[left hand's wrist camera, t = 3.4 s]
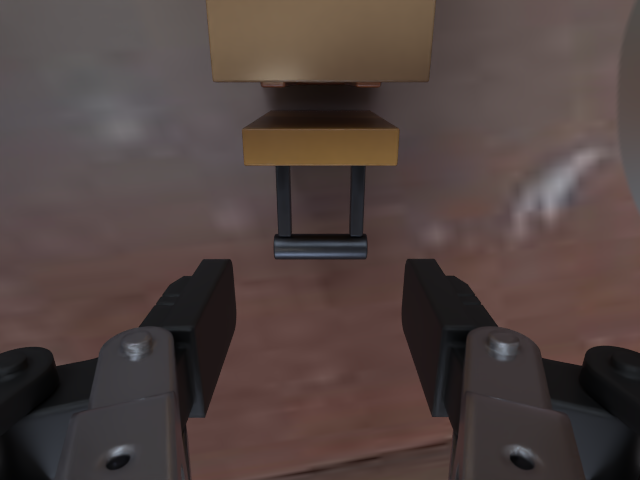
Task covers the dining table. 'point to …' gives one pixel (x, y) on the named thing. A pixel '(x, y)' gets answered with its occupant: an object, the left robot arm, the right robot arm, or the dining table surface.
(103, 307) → the dining table surface
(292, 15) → the cabinet
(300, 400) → the dining table surface
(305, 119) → the drawer
